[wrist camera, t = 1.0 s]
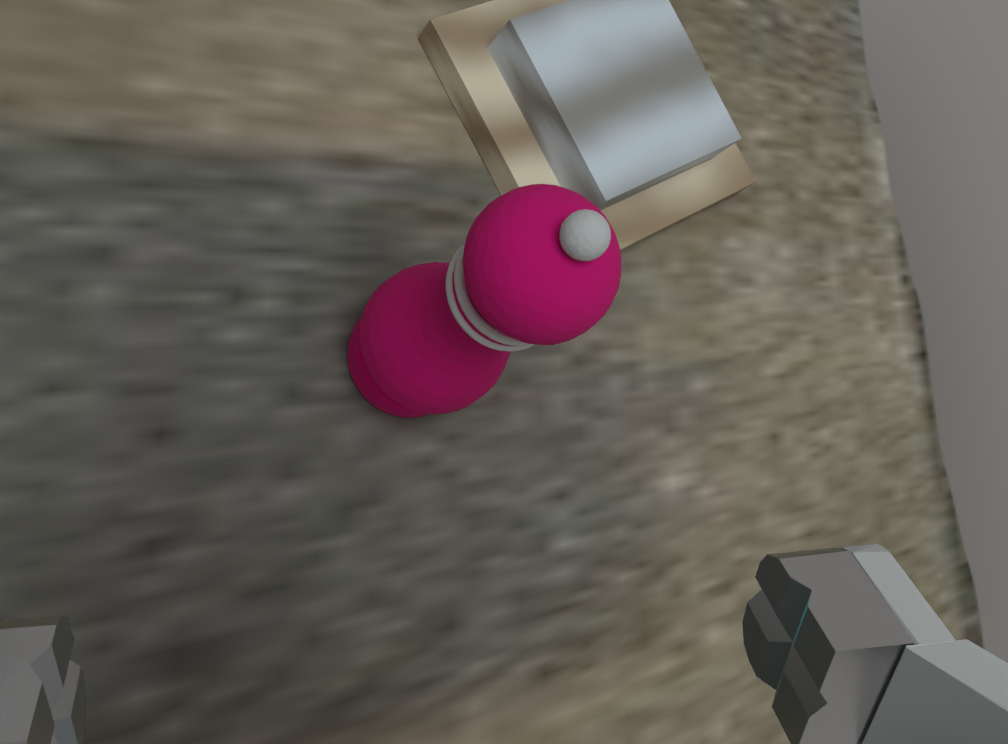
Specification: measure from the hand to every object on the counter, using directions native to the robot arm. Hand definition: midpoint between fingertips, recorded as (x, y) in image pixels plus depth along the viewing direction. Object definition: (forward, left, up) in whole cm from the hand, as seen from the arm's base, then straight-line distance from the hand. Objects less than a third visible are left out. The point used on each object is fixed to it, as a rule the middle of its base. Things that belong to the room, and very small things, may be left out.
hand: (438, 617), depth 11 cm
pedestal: (-13, +34, -35) cm, 50 cm away
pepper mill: (-5, +16, -35) cm, 39 cm away
